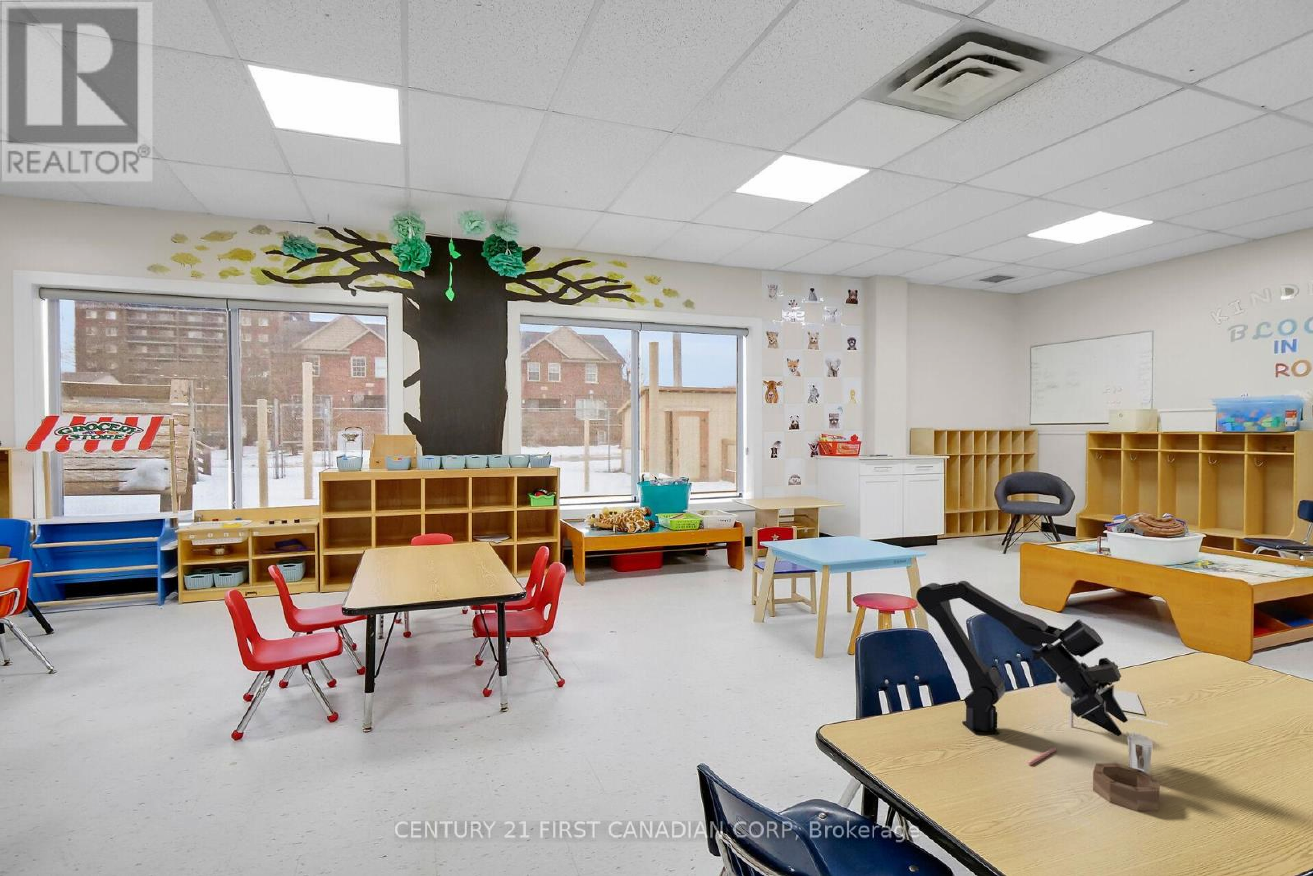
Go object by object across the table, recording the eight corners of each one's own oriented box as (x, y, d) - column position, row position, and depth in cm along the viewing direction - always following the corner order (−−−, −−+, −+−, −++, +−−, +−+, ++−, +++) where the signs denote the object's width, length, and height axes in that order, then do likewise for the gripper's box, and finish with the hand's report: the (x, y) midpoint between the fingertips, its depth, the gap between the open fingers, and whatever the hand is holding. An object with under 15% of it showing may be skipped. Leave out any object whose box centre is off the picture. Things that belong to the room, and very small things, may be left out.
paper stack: (1177, 703, 183) (1177, 701, 183) (1196, 738, 161) (1196, 735, 161) (1080, 685, 195) (1080, 683, 195) (1085, 716, 173) (1085, 713, 173)
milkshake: (1118, 771, 144) (1119, 727, 144) (1140, 770, 144) (1141, 727, 144) (1135, 782, 139) (1135, 737, 139) (1157, 781, 140) (1158, 736, 140)
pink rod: (1030, 766, 146) (1031, 762, 146) (1027, 764, 146) (1027, 761, 146) (1056, 751, 153) (1056, 747, 153) (1053, 749, 154) (1053, 746, 154)
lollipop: (1078, 721, 169) (1079, 665, 169) (1094, 734, 162) (1095, 675, 162) (1050, 719, 170) (1051, 664, 170) (1064, 732, 163) (1065, 674, 163)
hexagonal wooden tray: (1122, 812, 128) (1122, 792, 128) (1081, 782, 139) (1082, 763, 139) (1173, 810, 129) (1173, 790, 129) (1128, 780, 140) (1128, 762, 140)
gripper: (1088, 659, 141) (1150, 724, 133) (1102, 639, 154) (1159, 698, 147) (1047, 684, 146) (1105, 749, 138) (1064, 664, 160) (1117, 721, 152)
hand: (1123, 728), depth 144 cm, fingers open, 9 cm apart
